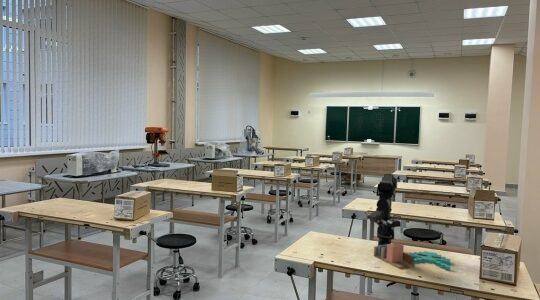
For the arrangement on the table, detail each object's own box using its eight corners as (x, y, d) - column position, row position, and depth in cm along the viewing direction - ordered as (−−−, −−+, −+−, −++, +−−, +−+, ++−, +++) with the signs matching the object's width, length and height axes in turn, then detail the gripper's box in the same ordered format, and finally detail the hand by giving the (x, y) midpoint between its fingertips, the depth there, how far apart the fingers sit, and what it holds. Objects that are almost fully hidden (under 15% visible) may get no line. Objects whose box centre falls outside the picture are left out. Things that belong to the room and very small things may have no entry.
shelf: (387, 254, 209) (387, 242, 208) (413, 266, 191) (414, 253, 191) (373, 255, 205) (374, 243, 204) (399, 268, 188) (400, 255, 187)
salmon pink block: (397, 258, 200) (398, 243, 199) (402, 260, 196) (403, 245, 196) (386, 259, 197) (387, 244, 196) (391, 262, 193) (392, 246, 193)
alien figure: (450, 272, 188) (450, 259, 206) (450, 267, 187) (450, 255, 205) (406, 264, 196) (410, 252, 214) (406, 259, 196) (410, 248, 214)
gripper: (360, 203, 205) (358, 232, 206) (385, 211, 188) (383, 243, 189) (376, 202, 210) (374, 230, 211) (402, 210, 193) (400, 240, 194)
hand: (382, 235), depth 201 cm, fingers closed
